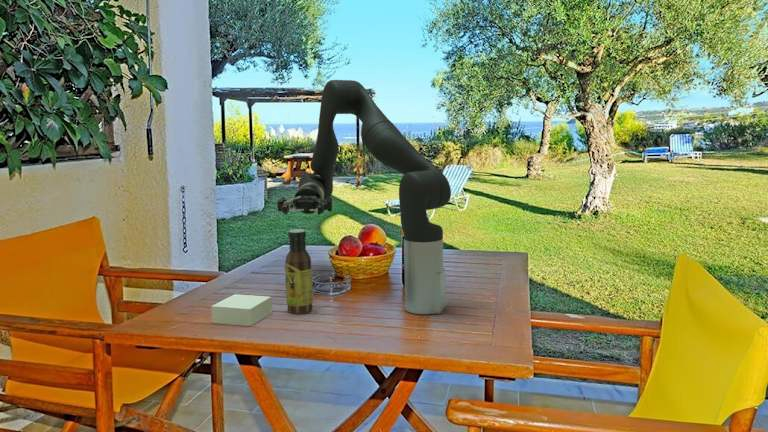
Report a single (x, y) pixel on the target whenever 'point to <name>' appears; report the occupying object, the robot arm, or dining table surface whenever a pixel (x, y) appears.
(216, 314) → the plinth
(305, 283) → the sauce bottle
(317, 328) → the dining table surface
